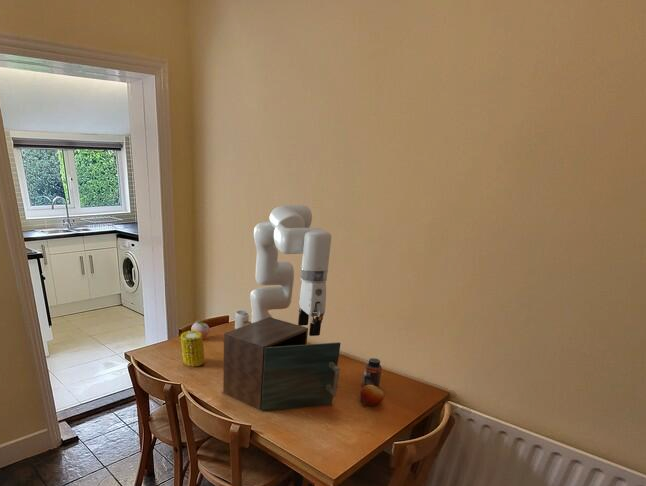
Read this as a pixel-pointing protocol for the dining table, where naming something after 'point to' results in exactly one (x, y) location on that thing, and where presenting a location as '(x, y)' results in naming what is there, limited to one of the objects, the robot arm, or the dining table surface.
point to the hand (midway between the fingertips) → (308, 330)
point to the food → (192, 348)
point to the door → (300, 376)
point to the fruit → (371, 395)
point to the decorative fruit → (201, 328)
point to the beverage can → (241, 319)
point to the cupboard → (254, 356)
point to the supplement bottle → (372, 373)
